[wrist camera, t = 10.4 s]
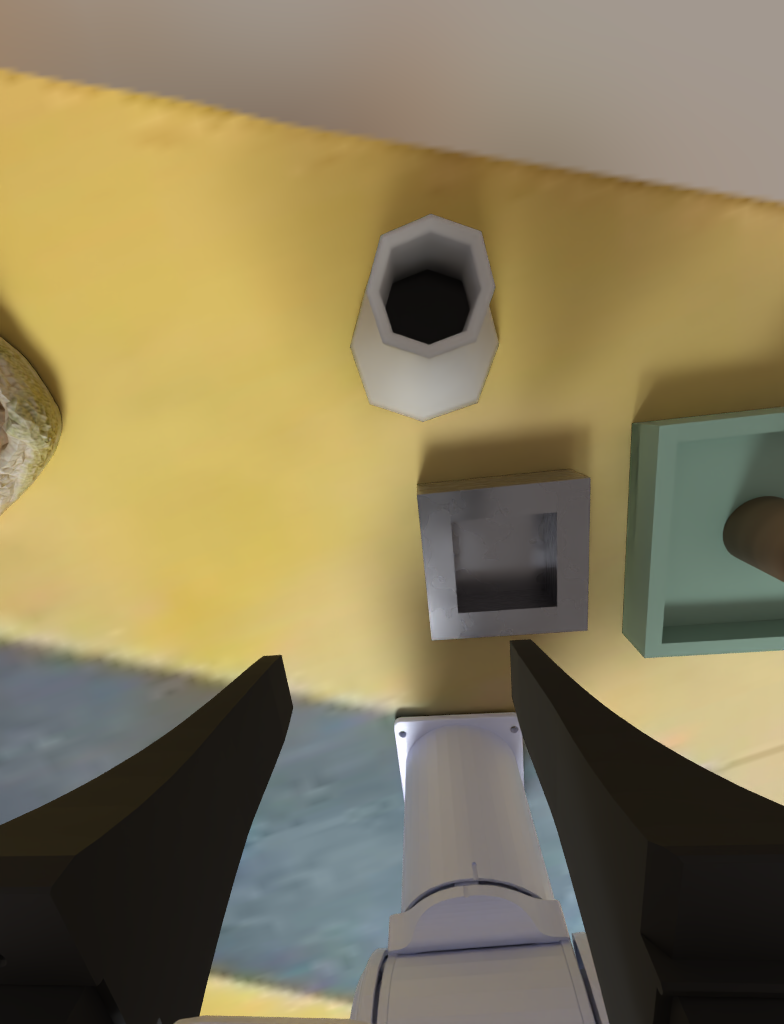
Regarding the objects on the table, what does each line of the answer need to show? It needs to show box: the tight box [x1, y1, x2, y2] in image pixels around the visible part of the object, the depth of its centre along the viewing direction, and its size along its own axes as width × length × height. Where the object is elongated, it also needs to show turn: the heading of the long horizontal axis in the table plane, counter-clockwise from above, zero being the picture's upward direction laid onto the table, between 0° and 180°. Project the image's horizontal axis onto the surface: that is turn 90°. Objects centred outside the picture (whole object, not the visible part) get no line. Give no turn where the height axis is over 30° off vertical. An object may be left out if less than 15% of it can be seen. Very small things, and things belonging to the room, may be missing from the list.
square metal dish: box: [417, 469, 590, 640], centre depth 20 cm, size 8×8×2 cm
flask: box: [350, 214, 499, 422], centre depth 14 cm, size 7×7×10 cm
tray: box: [622, 407, 784, 658], centre depth 19 cm, size 12×12×2 cm
